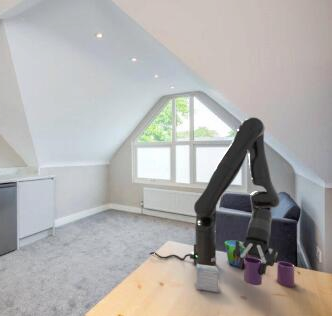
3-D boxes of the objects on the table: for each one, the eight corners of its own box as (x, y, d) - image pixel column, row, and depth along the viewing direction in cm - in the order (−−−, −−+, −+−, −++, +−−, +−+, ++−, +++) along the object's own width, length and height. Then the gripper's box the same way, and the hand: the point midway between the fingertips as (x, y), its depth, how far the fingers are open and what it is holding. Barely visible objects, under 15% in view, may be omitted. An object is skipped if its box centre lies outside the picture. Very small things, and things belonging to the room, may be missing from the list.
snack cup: (234, 256, 130) (234, 237, 130) (255, 263, 121) (255, 243, 121) (217, 264, 122) (217, 243, 122) (240, 272, 113) (239, 250, 113)
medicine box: (216, 287, 101) (216, 266, 101) (218, 293, 96) (218, 271, 96) (196, 284, 103) (195, 263, 103) (196, 289, 99) (196, 268, 99)
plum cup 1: (242, 281, 92) (241, 260, 92) (246, 276, 96) (245, 255, 96) (259, 287, 88) (259, 264, 88) (263, 281, 92) (262, 260, 92)
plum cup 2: (276, 283, 103) (276, 264, 103) (278, 278, 107) (278, 260, 107) (293, 288, 99) (293, 268, 99) (295, 283, 103) (295, 264, 103)
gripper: (236, 223, 102) (227, 261, 94) (279, 230, 92) (273, 273, 83) (240, 233, 106) (232, 270, 97) (282, 240, 96) (276, 282, 87)
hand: (251, 271), depth 91 cm, fingers closed on plum cup 1, 5 cm apart
